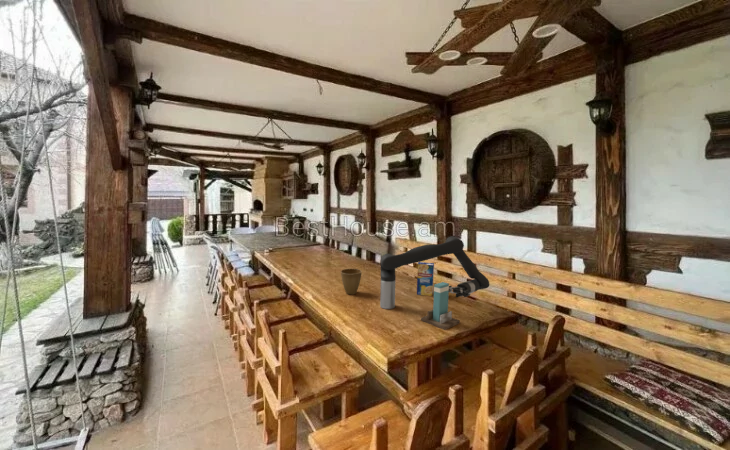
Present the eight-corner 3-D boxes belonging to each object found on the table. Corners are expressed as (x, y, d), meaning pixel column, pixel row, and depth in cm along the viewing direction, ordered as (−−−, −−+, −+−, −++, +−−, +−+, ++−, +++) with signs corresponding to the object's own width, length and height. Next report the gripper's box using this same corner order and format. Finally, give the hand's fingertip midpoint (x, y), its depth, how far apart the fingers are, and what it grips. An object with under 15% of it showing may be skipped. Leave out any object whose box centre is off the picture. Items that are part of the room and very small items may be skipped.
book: (441, 316, 179) (442, 282, 178) (447, 318, 176) (449, 283, 174) (432, 319, 174) (434, 284, 172) (438, 322, 171) (440, 286, 169)
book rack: (435, 314, 186) (436, 304, 185) (459, 323, 174) (460, 312, 173) (420, 320, 177) (421, 310, 176) (444, 330, 165) (445, 318, 164)
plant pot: (338, 291, 228) (338, 269, 227) (357, 289, 233) (357, 267, 232) (344, 297, 214) (344, 274, 213) (364, 295, 220) (364, 272, 218)
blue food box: (432, 296, 220) (433, 265, 218) (416, 294, 223) (417, 264, 221) (433, 293, 226) (434, 263, 224) (417, 291, 229) (418, 262, 227)
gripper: (455, 279, 194) (439, 284, 184) (477, 284, 183) (461, 290, 173) (455, 291, 195) (439, 296, 185) (476, 297, 184) (460, 303, 174)
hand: (449, 293), depth 179 cm, fingers open, 8 cm apart
